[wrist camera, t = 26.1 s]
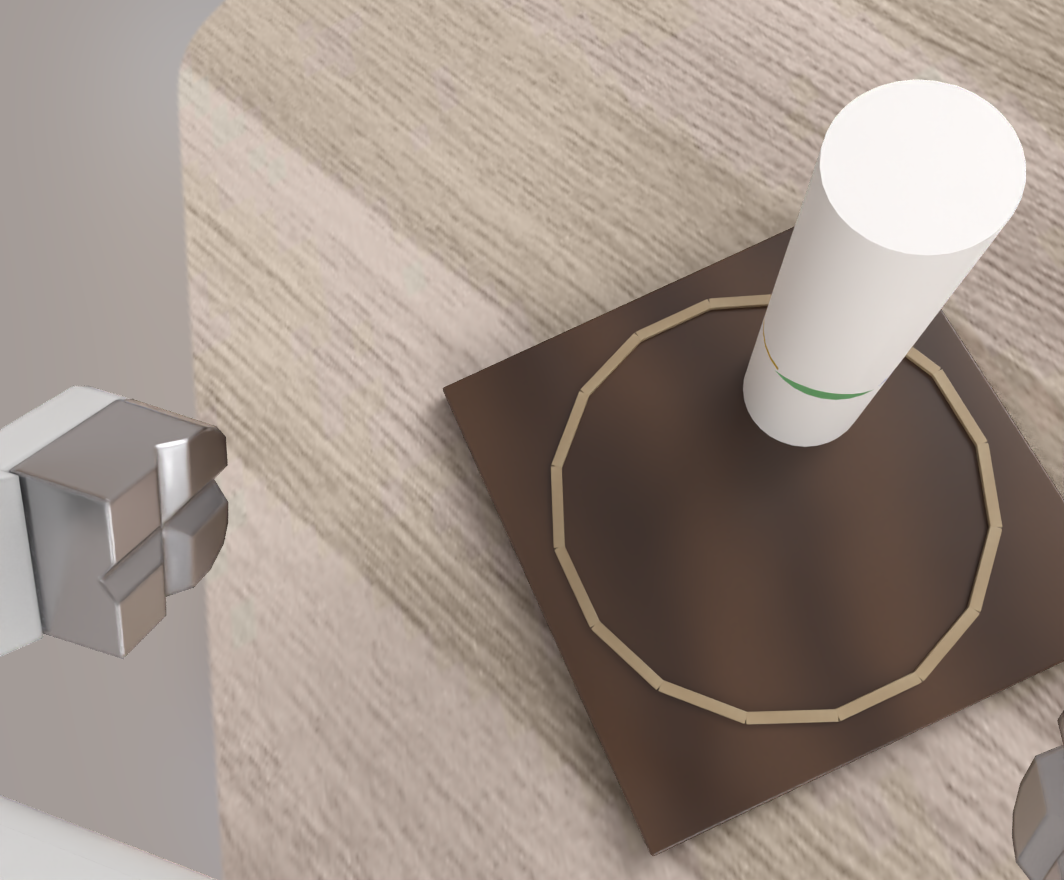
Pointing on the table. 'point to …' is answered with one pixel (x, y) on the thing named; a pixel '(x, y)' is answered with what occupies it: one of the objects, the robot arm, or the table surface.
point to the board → (761, 546)
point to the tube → (878, 250)
